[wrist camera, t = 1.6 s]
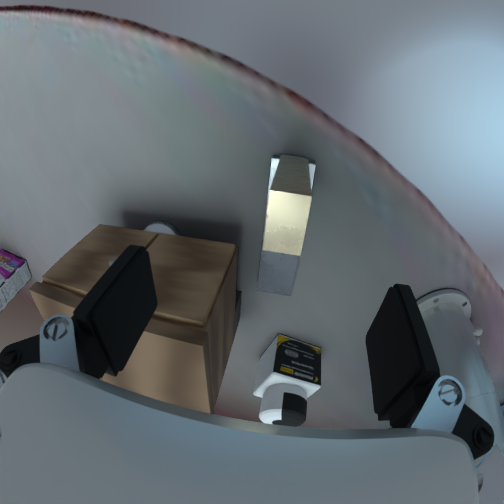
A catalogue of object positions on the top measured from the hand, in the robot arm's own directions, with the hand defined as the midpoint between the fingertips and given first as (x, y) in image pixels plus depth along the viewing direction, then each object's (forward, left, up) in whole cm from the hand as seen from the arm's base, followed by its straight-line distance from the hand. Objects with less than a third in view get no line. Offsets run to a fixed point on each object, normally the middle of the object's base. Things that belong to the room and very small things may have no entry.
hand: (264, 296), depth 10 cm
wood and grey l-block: (0, +7, -18) cm, 20 cm away
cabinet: (+12, +14, -18) cm, 26 cm away
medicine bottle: (-4, +27, -19) cm, 33 cm away
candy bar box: (+54, +22, -19) cm, 61 cm away
